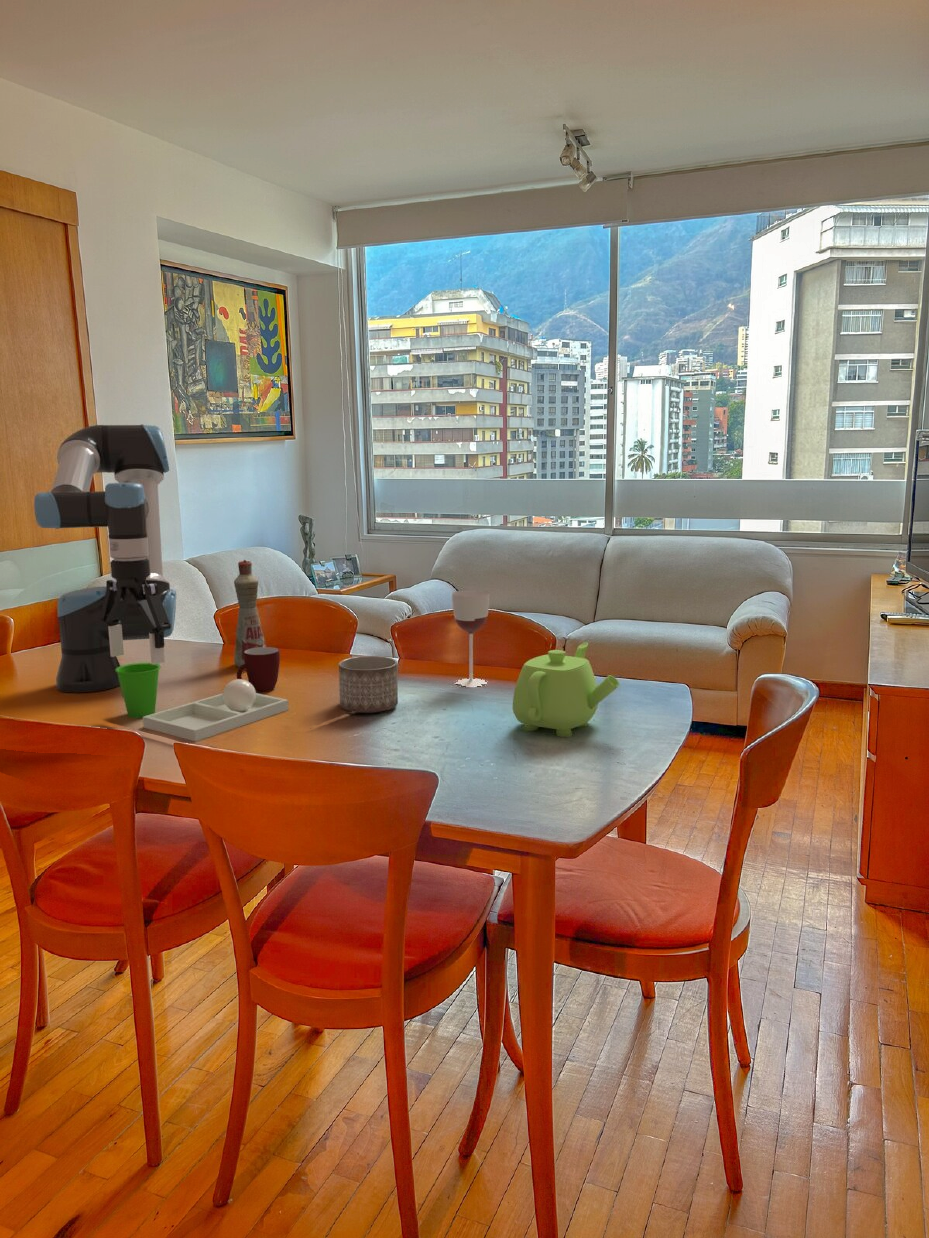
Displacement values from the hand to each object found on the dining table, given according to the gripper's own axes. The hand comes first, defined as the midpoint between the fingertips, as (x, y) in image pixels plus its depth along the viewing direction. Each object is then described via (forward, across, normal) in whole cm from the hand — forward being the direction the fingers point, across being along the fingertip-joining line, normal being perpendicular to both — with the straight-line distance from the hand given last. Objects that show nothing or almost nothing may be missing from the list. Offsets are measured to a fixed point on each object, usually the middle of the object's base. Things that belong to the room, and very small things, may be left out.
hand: (137, 659), depth 189 cm
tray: (+13, +16, +7) cm, 22 cm away
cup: (+13, 0, 0) cm, 13 cm away
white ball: (+12, +16, +13) cm, 24 cm away
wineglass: (+13, +43, +62) cm, 77 cm away
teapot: (+14, +79, +45) cm, 92 cm away
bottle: (+12, -15, +45) cm, 49 cm away
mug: (+13, +7, +27) cm, 31 cm away
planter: (+13, +36, +32) cm, 50 cm away
